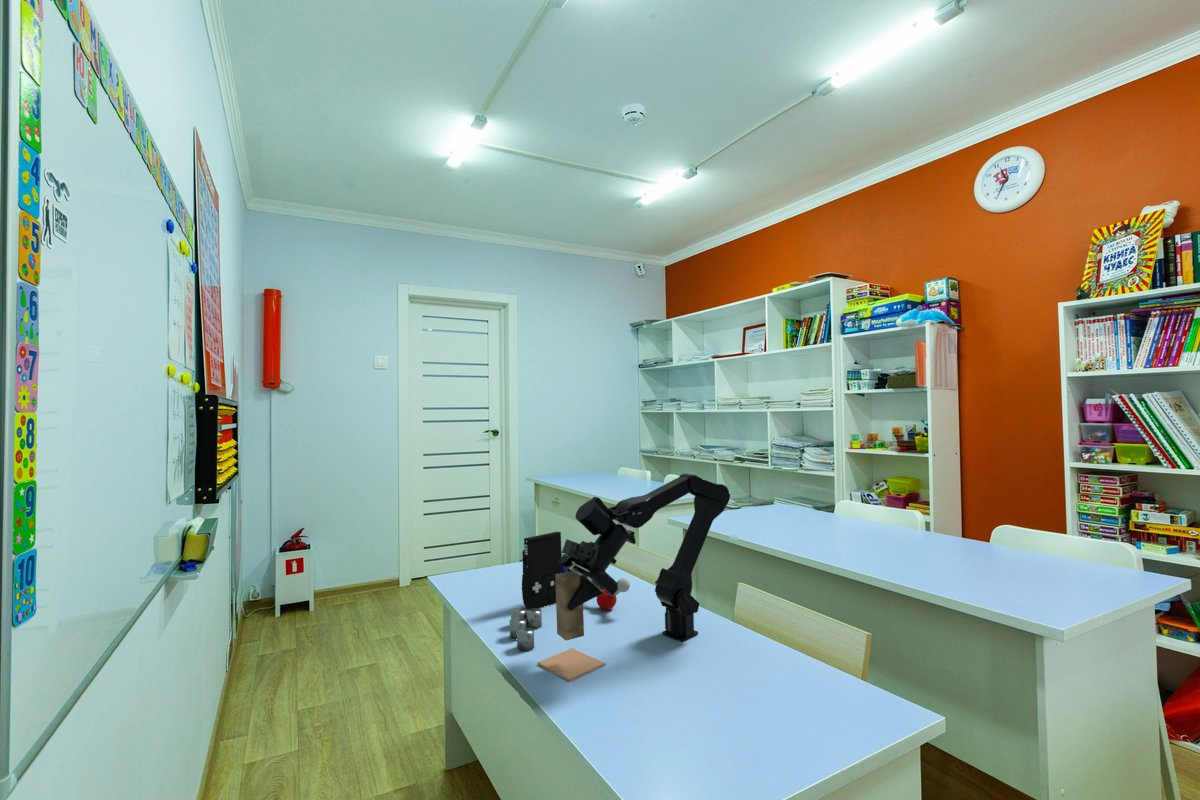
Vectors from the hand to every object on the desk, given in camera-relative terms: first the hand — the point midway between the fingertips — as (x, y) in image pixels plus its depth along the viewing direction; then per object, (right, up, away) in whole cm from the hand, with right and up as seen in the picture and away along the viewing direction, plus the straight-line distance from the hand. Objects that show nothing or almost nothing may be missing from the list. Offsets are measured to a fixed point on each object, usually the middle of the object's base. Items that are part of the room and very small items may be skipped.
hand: (564, 605), depth 123 cm
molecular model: (+10, -14, +34) cm, 38 cm away
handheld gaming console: (-9, -14, +39) cm, 42 cm away
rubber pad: (+1, -13, 0) cm, 13 cm away
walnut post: (+1, -7, +1) cm, 7 cm away
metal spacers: (-10, -14, +18) cm, 25 cm away
